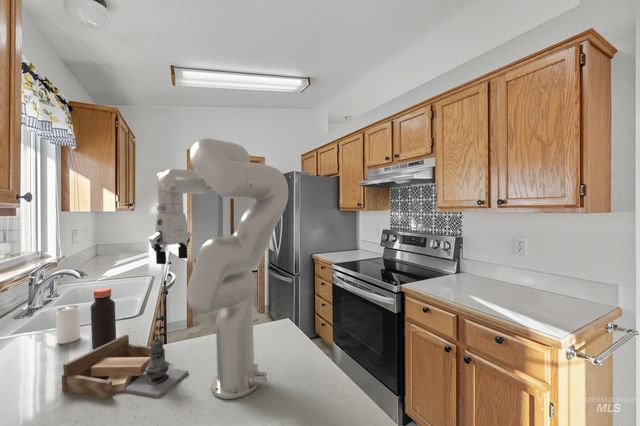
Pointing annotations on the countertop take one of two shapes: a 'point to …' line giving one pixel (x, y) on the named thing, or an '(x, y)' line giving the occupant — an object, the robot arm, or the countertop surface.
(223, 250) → the robot arm
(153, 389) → the mat
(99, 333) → the bottle
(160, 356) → the grey stone finial
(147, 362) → the upper offcut
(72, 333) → the can
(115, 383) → the lower offcut
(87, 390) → the rack
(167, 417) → the countertop surface
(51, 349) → the countertop surface
